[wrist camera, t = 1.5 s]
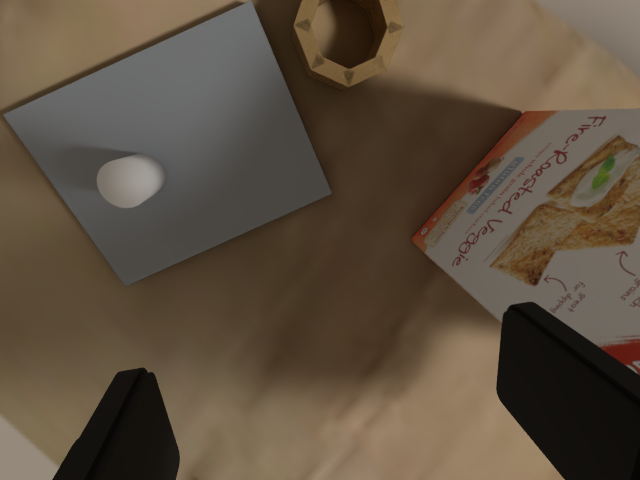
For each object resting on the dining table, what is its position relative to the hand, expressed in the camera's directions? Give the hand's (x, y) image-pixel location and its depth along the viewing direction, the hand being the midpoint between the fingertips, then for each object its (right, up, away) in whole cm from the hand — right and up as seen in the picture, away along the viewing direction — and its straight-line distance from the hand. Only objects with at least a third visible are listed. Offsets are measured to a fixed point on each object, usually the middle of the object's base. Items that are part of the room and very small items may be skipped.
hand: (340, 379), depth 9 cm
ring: (+1, +18, +16) cm, 24 cm away
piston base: (-11, +10, +17) cm, 23 cm away
